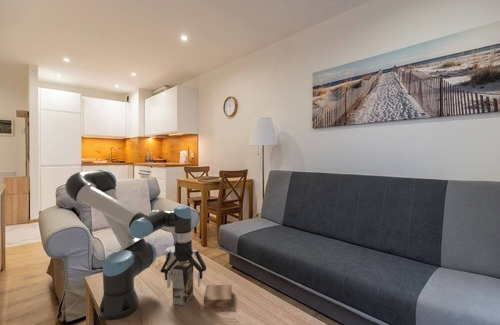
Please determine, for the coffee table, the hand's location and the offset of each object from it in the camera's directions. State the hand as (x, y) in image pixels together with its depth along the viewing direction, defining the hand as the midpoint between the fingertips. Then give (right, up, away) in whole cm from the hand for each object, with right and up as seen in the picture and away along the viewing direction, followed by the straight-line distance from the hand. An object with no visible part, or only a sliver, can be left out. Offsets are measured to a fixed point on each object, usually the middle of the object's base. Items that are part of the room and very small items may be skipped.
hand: (184, 286), depth 119 cm
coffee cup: (-13, -5, +30) cm, 33 cm away
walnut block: (+16, -7, +1) cm, 17 cm away
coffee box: (0, -6, 0) cm, 6 cm away
